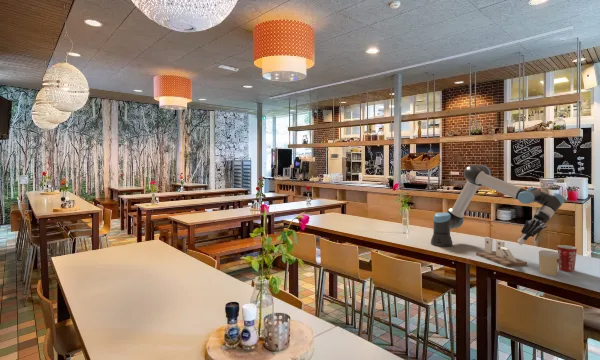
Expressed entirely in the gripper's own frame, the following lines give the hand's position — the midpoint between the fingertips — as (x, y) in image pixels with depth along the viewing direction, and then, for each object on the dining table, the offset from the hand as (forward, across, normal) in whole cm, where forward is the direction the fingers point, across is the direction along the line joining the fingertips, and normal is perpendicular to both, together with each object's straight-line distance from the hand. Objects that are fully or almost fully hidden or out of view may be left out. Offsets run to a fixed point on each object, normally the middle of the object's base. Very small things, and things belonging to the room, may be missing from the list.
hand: (519, 243), depth 207 cm
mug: (-2, -15, -21) cm, 26 cm away
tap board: (+12, +10, -7) cm, 17 cm away
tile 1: (+11, +20, -4) cm, 24 cm away
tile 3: (+11, 0, -4) cm, 12 cm away
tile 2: (+11, +10, -4) cm, 16 cm away
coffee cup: (+8, -18, -11) cm, 22 cm away
